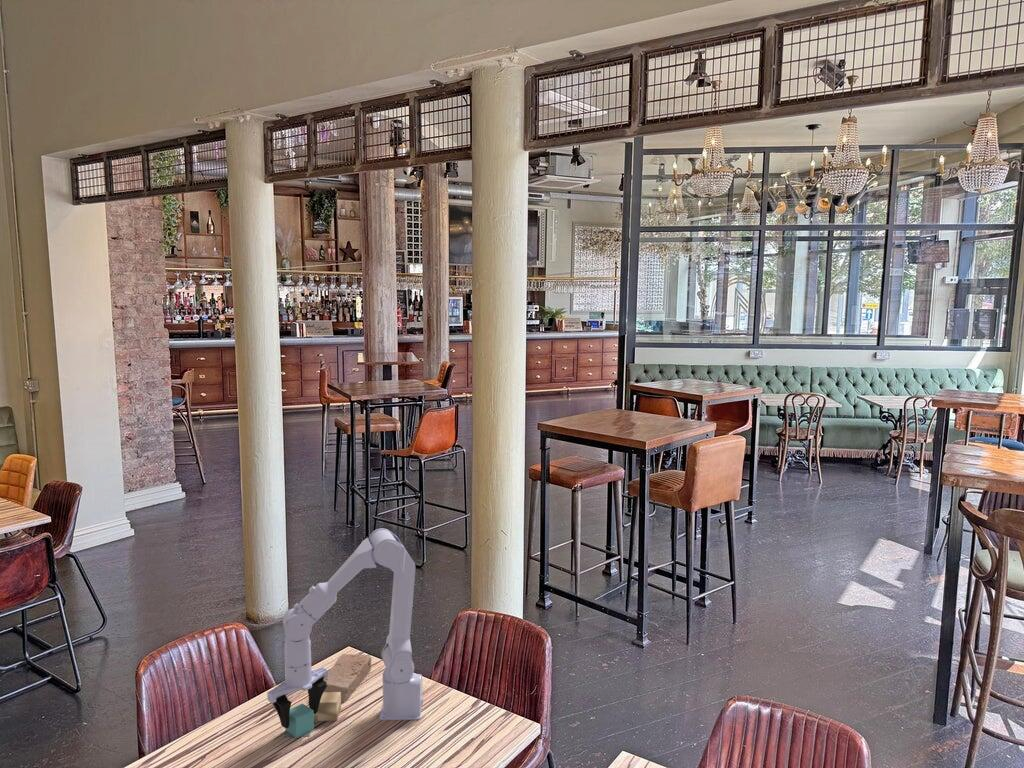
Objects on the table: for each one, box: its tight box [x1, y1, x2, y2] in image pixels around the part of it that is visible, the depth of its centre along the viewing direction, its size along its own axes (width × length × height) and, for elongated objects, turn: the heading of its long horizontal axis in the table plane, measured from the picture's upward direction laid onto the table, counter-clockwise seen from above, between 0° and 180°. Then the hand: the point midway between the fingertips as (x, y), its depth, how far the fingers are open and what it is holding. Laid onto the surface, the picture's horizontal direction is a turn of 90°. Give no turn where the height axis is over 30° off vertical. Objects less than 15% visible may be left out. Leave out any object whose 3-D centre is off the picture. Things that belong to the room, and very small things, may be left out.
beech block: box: [316, 692, 342, 722], centre depth 164 cm, size 4×4×4 cm
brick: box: [323, 653, 372, 703], centre depth 179 cm, size 17×8×5 cm, turn 169°
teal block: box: [285, 702, 315, 739], centre depth 158 cm, size 4×4×4 cm
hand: (299, 719), depth 158 cm, fingers open, 7 cm apart
